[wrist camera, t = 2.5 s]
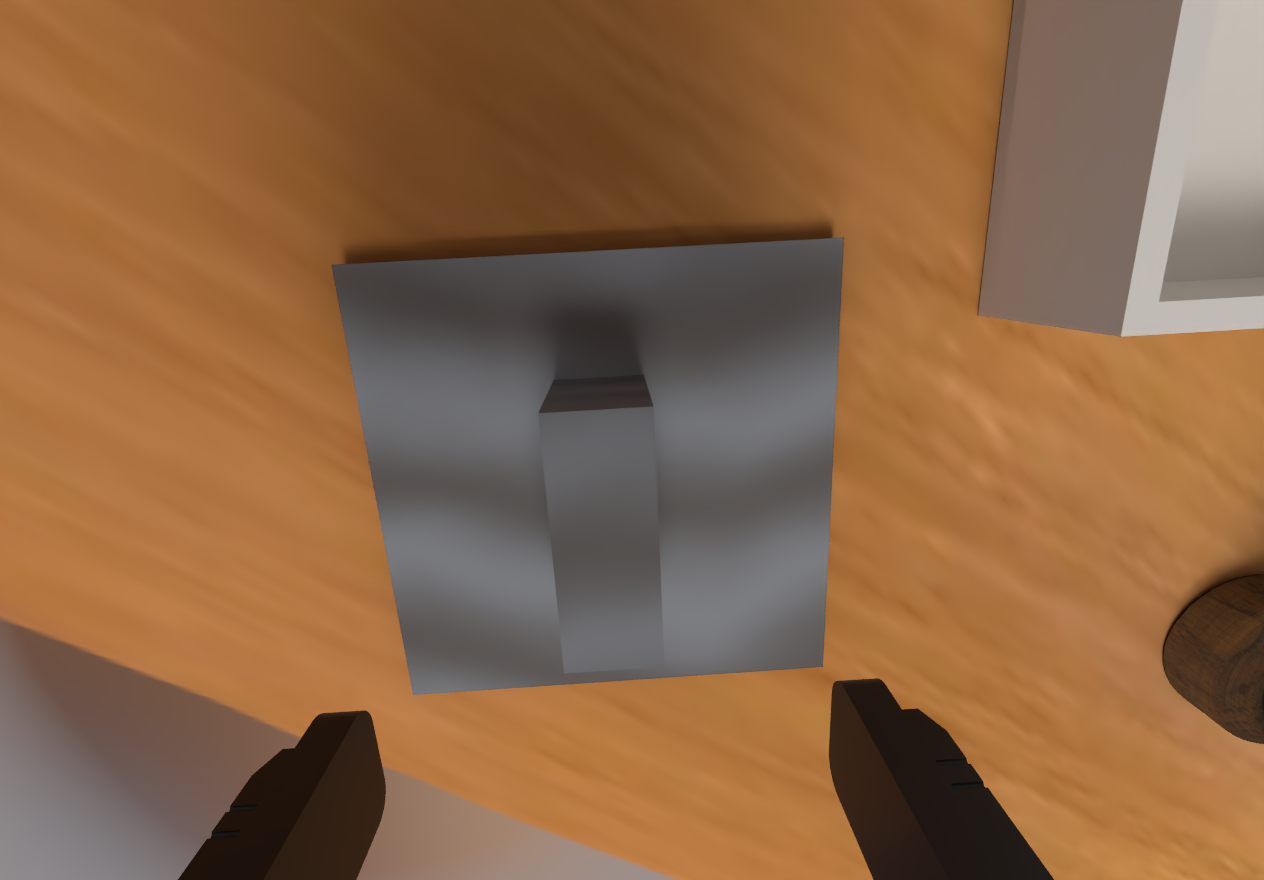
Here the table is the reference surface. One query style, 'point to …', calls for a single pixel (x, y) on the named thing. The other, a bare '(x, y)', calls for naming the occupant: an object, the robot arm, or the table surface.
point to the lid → (601, 458)
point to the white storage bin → (1130, 168)
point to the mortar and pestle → (1223, 656)
